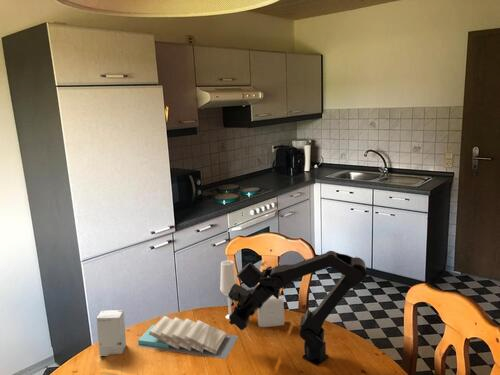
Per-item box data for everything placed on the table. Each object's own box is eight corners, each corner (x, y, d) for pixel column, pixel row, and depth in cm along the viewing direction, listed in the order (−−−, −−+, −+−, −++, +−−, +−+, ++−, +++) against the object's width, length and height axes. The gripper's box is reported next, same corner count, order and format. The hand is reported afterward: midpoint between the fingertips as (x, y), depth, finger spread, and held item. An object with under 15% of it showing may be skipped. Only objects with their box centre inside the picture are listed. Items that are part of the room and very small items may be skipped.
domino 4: (214, 331, 153) (186, 318, 155) (203, 348, 143) (173, 333, 145) (213, 335, 153) (185, 321, 156) (202, 352, 143) (171, 337, 145)
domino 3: (203, 330, 154) (175, 316, 156) (191, 347, 144) (161, 332, 146) (202, 334, 155) (174, 320, 157) (190, 351, 144) (160, 335, 147)
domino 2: (192, 329, 156) (164, 315, 158) (179, 345, 145) (149, 330, 147) (191, 332, 156) (163, 318, 158) (178, 349, 146) (148, 334, 148)
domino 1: (181, 327, 157) (153, 324, 160) (168, 344, 146) (137, 340, 150) (181, 331, 157) (153, 328, 160) (168, 348, 147) (138, 344, 150)
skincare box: (99, 357, 145) (94, 318, 142) (104, 347, 151) (100, 310, 148) (123, 356, 145) (119, 317, 142) (128, 346, 151) (123, 308, 148)
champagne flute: (218, 319, 167) (215, 262, 162) (231, 312, 171) (228, 258, 167) (229, 325, 162) (225, 267, 157) (242, 318, 167) (239, 262, 162)
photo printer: (258, 330, 158) (257, 300, 155) (257, 324, 162) (256, 294, 159) (285, 327, 158) (284, 297, 156) (283, 321, 163) (282, 292, 160)
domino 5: (227, 333, 152) (198, 319, 154) (216, 350, 141) (185, 335, 144) (226, 336, 152) (197, 323, 154) (215, 354, 142) (184, 339, 144)
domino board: (238, 338, 152) (238, 336, 152) (226, 361, 139) (226, 358, 139) (155, 328, 162) (155, 326, 162) (136, 349, 149) (136, 346, 149)
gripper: (249, 268, 148) (222, 294, 153) (232, 291, 130) (203, 320, 136) (272, 290, 147) (244, 316, 153) (258, 316, 130) (228, 344, 135)
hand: (230, 323), depth 144 cm, fingers closed
